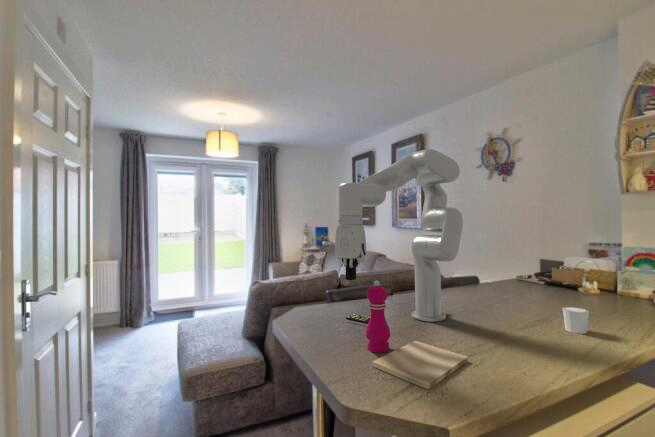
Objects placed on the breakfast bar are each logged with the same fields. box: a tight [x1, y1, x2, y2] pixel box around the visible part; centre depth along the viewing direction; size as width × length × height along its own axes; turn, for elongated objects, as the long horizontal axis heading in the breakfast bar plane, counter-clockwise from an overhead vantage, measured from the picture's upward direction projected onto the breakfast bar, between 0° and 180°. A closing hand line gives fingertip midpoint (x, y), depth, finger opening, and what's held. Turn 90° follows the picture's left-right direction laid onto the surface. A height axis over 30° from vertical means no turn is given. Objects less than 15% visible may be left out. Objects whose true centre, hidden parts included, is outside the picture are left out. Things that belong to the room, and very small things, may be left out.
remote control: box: [345, 313, 370, 327], centre depth 117 cm, size 6×13×2 cm, turn 52°
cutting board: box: [371, 340, 469, 390], centre depth 83 cm, size 20×16×1 cm
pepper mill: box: [365, 280, 391, 354], centre depth 93 cm, size 7×7×20 cm
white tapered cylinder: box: [562, 306, 590, 335], centre depth 104 cm, size 7×7×7 cm
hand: (350, 279), depth 100 cm, fingers closed
